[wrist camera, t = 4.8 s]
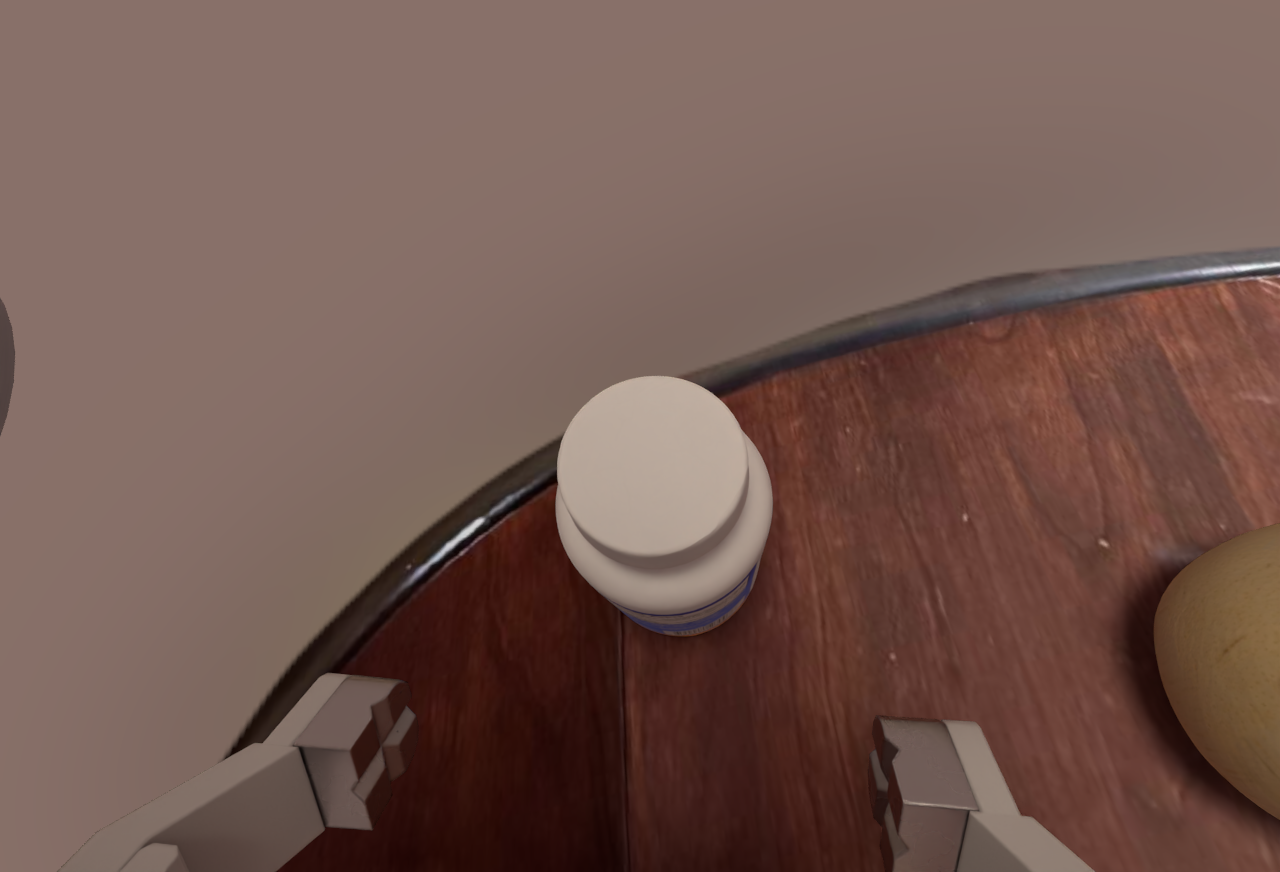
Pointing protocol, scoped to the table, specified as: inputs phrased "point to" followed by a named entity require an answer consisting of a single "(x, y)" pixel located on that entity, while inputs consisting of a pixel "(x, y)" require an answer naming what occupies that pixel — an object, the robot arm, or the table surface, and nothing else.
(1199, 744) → the apple
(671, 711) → the table surface
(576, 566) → the pill bottle
